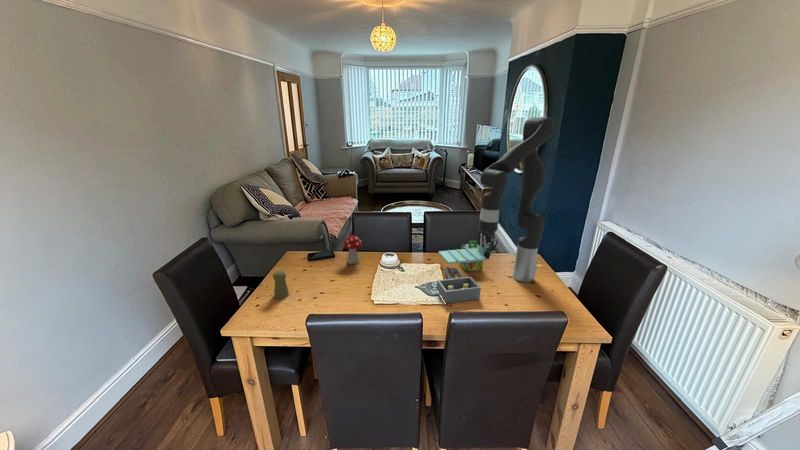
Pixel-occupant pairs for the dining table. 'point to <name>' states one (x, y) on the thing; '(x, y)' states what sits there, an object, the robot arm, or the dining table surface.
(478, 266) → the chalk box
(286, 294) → the olive pawn figure
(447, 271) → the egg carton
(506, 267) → the dining table surface
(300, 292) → the dining table surface
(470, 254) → the lid
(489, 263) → the dining table surface
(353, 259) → the decorative mushroom
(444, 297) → the tub
